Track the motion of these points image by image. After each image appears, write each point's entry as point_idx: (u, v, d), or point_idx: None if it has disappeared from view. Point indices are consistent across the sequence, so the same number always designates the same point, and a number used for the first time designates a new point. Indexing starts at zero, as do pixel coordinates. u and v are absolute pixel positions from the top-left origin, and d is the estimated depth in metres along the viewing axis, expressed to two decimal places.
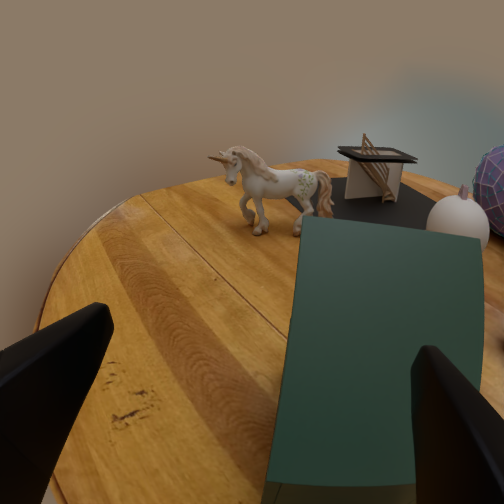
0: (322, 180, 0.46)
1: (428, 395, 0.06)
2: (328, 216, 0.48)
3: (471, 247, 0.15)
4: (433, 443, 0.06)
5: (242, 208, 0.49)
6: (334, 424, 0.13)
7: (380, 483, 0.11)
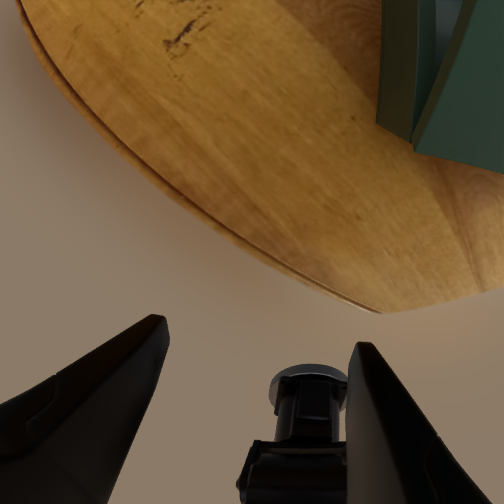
0: None
1: (357, 394, 0.07)
2: None
3: None
4: (359, 446, 0.06)
5: None
6: None
7: None
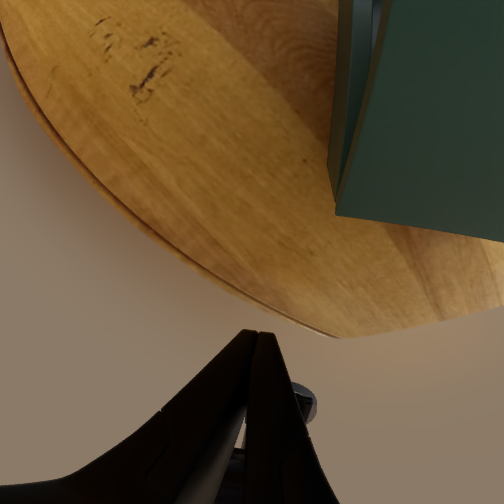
0: None
1: (249, 383, 0.07)
2: None
3: None
4: None
5: None
6: (430, 179, 0.09)
7: (460, 233, 0.11)
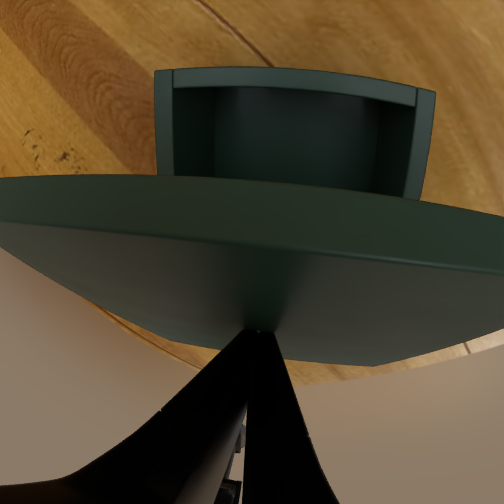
0: None
1: None
2: None
3: None
4: None
5: None
6: (204, 341, 0.13)
7: None
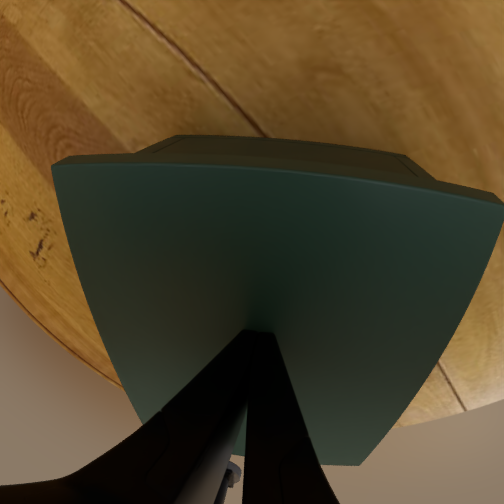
0: None
1: (249, 383, 0.07)
2: None
3: (475, 228, 0.06)
4: None
5: None
6: None
7: None
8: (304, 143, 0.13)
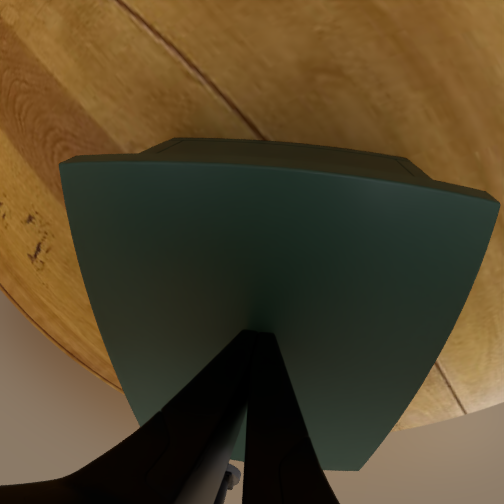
0: None
1: (249, 383, 0.07)
2: None
3: (469, 224, 0.06)
4: None
5: None
6: None
7: None
8: (304, 146, 0.13)
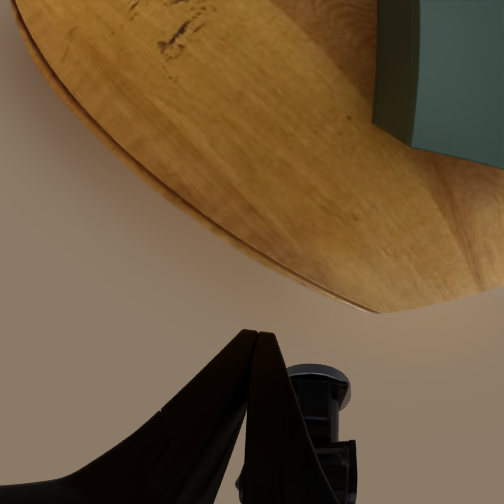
0: None
1: (249, 383, 0.07)
2: None
3: None
4: None
5: None
6: (481, 78, 0.08)
7: None
8: None
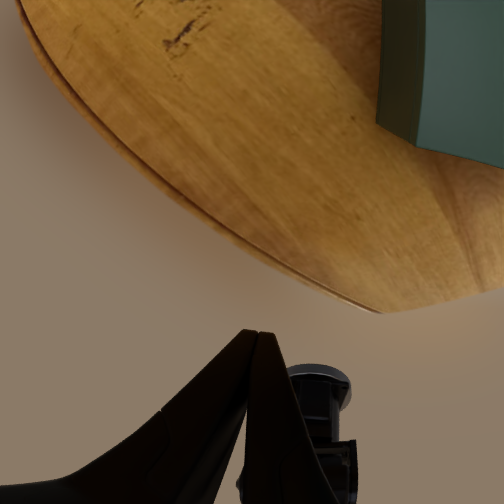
0: None
1: (249, 383, 0.07)
2: None
3: None
4: None
5: None
6: (485, 79, 0.08)
7: None
8: None
